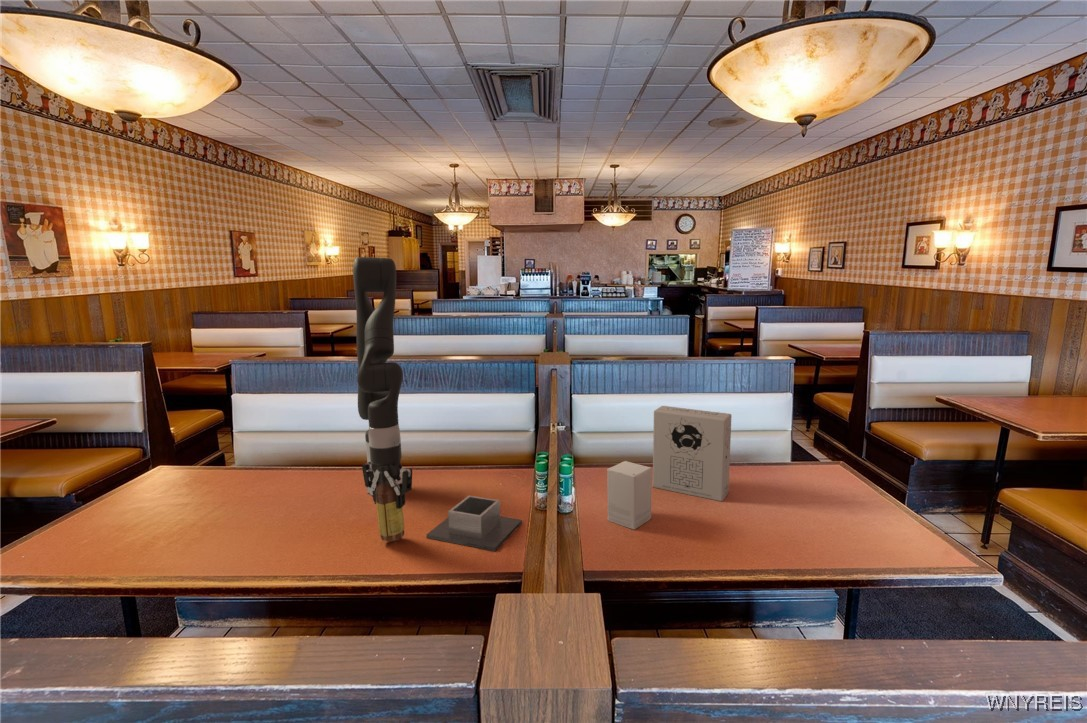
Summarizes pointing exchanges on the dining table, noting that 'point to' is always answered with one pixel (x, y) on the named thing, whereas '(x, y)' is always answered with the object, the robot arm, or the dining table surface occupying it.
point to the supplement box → (629, 494)
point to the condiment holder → (476, 524)
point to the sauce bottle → (388, 509)
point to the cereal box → (692, 452)
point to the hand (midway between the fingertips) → (389, 505)
